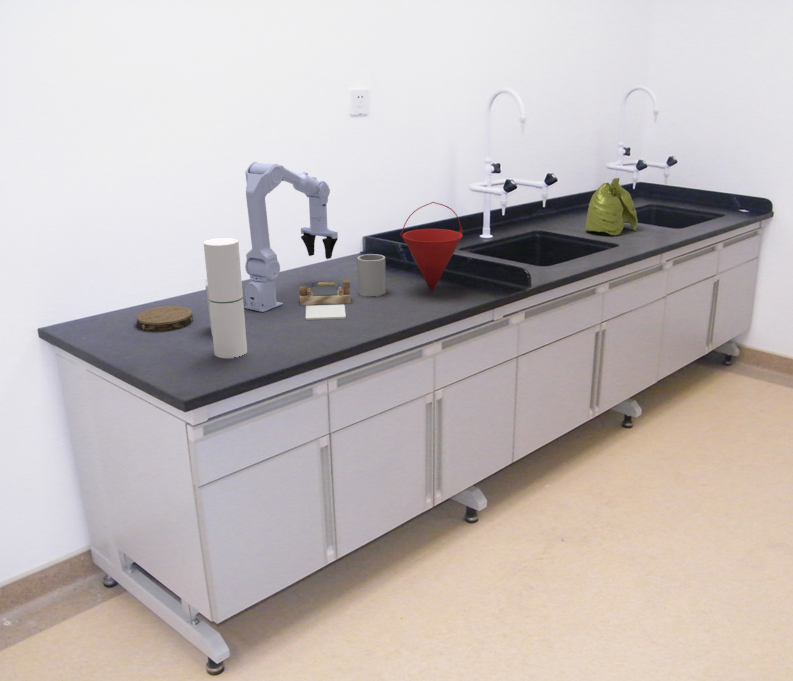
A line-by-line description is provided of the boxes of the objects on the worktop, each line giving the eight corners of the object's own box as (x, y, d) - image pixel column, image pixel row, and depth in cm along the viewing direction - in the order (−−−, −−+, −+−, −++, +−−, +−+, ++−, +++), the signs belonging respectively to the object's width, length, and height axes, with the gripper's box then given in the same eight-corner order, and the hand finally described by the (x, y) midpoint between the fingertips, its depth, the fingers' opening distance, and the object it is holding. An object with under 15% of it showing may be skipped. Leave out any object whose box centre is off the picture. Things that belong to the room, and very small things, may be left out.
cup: (353, 294, 250) (352, 259, 246) (366, 287, 258) (365, 253, 254) (377, 298, 247) (377, 262, 242) (390, 290, 254) (389, 255, 250)
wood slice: (164, 312, 235) (163, 303, 234) (204, 319, 228) (203, 310, 227) (125, 327, 222) (124, 318, 221) (166, 336, 215) (165, 326, 214)
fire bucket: (450, 280, 265) (452, 194, 255) (473, 296, 248) (475, 204, 237) (392, 286, 259) (391, 198, 249) (410, 302, 242) (410, 208, 231)
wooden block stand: (299, 305, 240) (298, 285, 238) (300, 299, 246) (299, 280, 243) (350, 303, 241) (350, 283, 239) (349, 297, 247) (349, 278, 245)
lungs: (607, 238, 325) (613, 182, 317) (579, 232, 337) (583, 177, 328) (642, 230, 340) (648, 176, 331) (613, 225, 351) (618, 172, 343)
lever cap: (312, 296, 240) (311, 284, 239) (312, 292, 244) (312, 281, 243) (337, 295, 241) (337, 284, 240) (337, 291, 245) (337, 280, 244)
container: (218, 346, 206) (208, 237, 195) (250, 346, 205) (241, 237, 195) (210, 358, 198) (199, 245, 187) (243, 358, 197) (233, 245, 187)
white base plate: (305, 320, 226) (305, 318, 226) (306, 307, 237) (306, 305, 237) (345, 318, 227) (345, 316, 227) (344, 306, 238) (344, 304, 238)
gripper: (342, 217, 252) (344, 257, 256) (309, 212, 259) (311, 251, 264) (329, 220, 246) (330, 261, 251) (295, 216, 254) (297, 255, 259)
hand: (320, 256), depth 257 cm, fingers open, 7 cm apart
